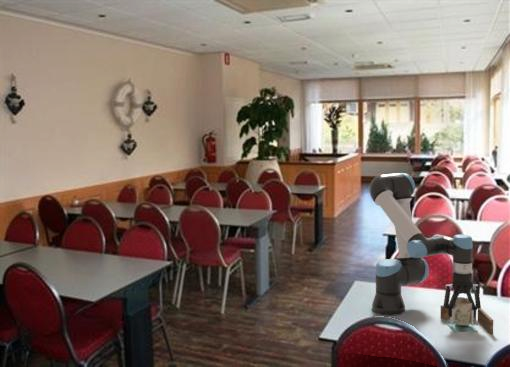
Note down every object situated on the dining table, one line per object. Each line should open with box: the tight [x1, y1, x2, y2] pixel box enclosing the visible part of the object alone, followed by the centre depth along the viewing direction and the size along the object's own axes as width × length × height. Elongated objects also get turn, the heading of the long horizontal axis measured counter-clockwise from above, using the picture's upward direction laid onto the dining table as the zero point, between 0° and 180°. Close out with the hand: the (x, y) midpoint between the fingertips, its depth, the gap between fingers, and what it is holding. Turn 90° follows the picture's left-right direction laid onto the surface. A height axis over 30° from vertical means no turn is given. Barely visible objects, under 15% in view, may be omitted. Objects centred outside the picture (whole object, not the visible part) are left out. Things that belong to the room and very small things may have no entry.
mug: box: [453, 296, 472, 326], centre depth 208 cm, size 8×13×10 cm, turn 135°
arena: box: [440, 304, 494, 335], centre depth 210 cm, size 16×17×6 cm
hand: (461, 323), depth 208 cm, fingers closed on mug, 7 cm apart
